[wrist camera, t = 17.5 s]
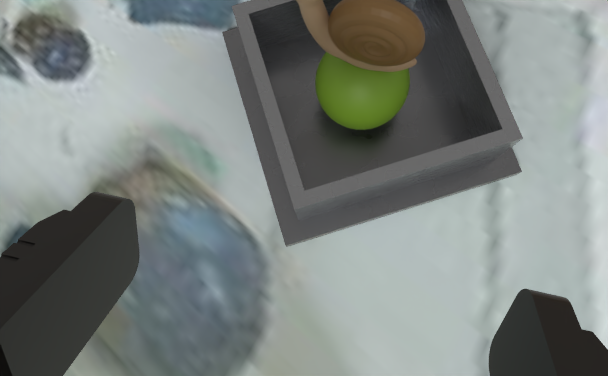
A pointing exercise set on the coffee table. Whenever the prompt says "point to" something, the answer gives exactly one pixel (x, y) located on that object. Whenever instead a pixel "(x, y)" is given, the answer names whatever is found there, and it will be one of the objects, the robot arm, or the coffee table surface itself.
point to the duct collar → (377, 141)
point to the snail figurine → (363, 58)
